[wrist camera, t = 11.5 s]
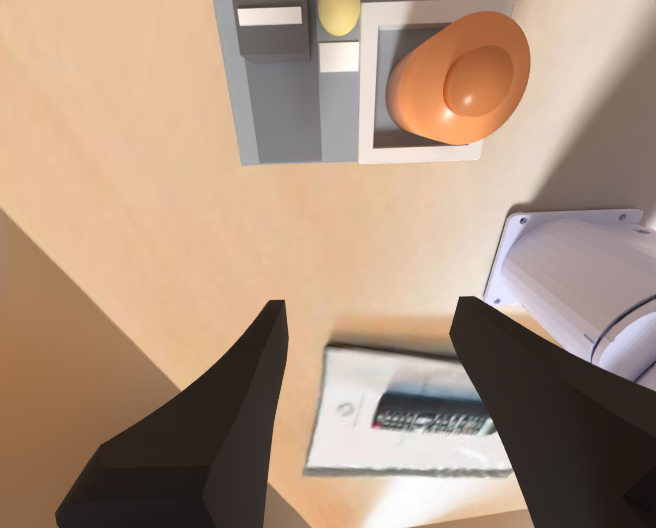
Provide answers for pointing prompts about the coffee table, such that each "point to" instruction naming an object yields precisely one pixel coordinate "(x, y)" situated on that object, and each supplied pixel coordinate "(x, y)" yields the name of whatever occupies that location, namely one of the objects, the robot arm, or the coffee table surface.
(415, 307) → the coffee table surface
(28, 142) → the coffee table surface
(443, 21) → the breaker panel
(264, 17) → the block
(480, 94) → the orange bottle
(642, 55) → the coffee table surface
